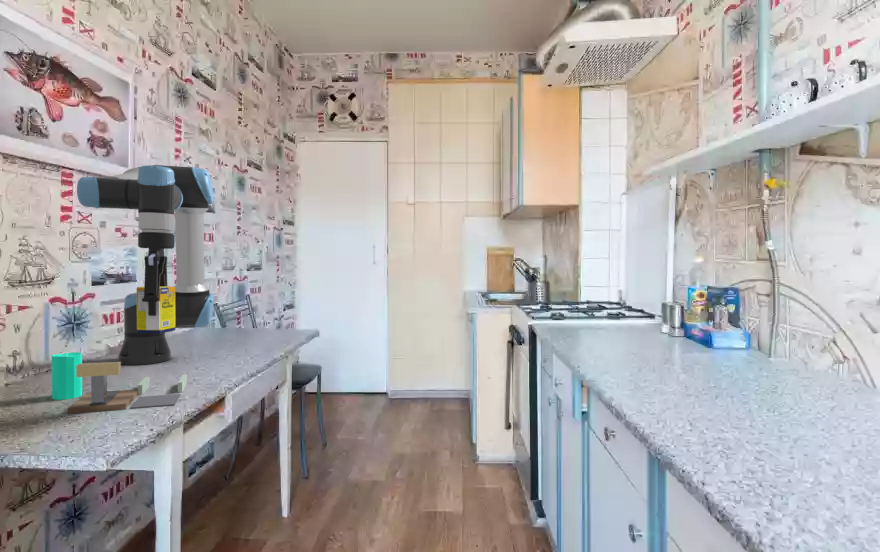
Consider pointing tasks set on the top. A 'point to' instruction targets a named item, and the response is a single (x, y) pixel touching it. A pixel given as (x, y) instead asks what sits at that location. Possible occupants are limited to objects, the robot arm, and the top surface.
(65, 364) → the candle
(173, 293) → the supplement box
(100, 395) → the t key
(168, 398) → the mat
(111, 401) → the board
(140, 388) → the clip holder
